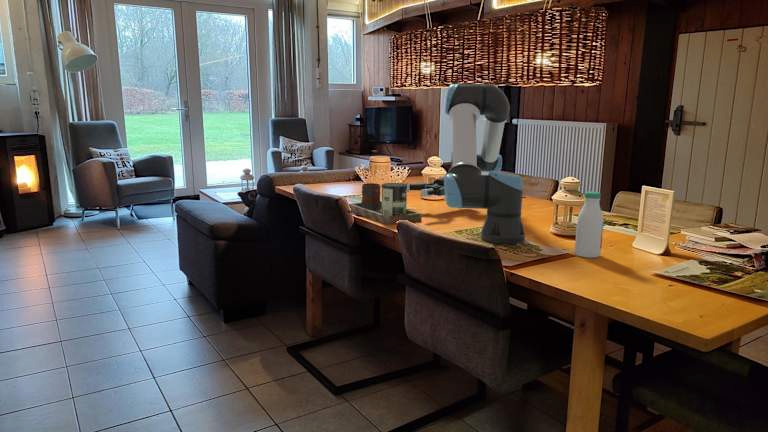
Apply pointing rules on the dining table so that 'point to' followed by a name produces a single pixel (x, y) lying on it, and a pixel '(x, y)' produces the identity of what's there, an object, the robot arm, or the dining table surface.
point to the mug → (371, 197)
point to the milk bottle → (589, 227)
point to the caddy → (385, 219)
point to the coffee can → (394, 199)
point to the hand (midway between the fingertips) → (409, 191)
